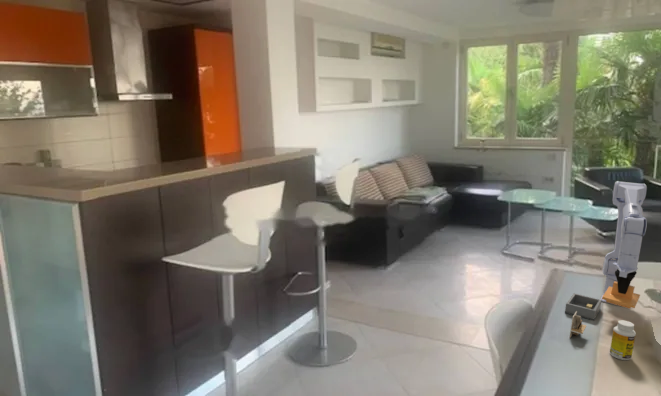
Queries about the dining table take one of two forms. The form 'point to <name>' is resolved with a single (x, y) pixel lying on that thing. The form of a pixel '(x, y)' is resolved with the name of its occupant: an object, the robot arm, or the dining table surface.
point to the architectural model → (577, 325)
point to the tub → (583, 306)
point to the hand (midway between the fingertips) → (622, 292)
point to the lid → (621, 296)
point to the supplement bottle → (623, 340)
